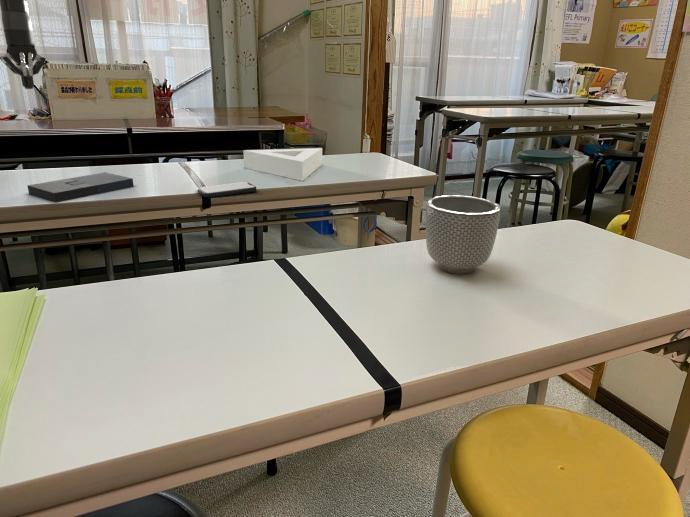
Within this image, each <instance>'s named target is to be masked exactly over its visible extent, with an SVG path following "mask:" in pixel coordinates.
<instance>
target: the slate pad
mask: <svg viewBox="0 0 690 517" xmlns="http://www.w3.org/2000/svg"><path fill="white" fill-rule="evenodd" d="M69 179H73V180H77V181H76V182H70V183H67V184H70V185H73V186H74V185H78V184H84V183H88V184H92V185H96V190H97V194H96V195H100V194H103V193H109V192H114V191H119V190H123V189H127V188H128V189H129V188H132V187H133V188H134V186H135V184H134V178H132V177H128V176H123V175H119V174H115V173H112V172H111V173H110V172H106V171H104V172H99V173H93V174H87V175H82V176H81V175H80V176H75V177H69Z"/></svg>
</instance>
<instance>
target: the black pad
mask: <svg viewBox="0 0 690 517" xmlns="http://www.w3.org/2000/svg"><path fill="white" fill-rule="evenodd" d="M69 178H70V177H69ZM69 178H63V179H57V180H51V181H45V182H39V183H34V184H27V191H28V195H32V196H35V197H38V198H41V199H44V200H48V201H51V202H54V203H58V202H63V201H67V200H73V199H78V198H82V197H83V198H84V197H87V196H93V195H98V194H97V190H96V185H92V184H88V183H84V184H78V185H74V186H73V185H70V184H67V183H70V182H76V181H77V180H73V179H69Z"/></svg>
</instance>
